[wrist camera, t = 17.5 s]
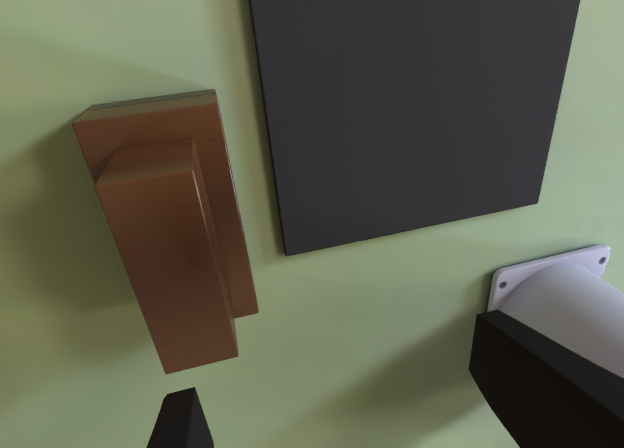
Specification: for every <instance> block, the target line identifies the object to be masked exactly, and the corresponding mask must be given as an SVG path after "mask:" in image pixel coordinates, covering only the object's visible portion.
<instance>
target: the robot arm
mask: <svg viewBox="0 0 624 448" xmlns="http://www.w3.org/2000/svg"><path fill="white" fill-rule="evenodd" d="M610 251H611V249H610V247H608V246H606V245H604V244H600V245H596V246H592V247H588V248H584V249H580V250H575V251H571V252H567V253H563V254H559V255H555V256H550V257H546V258H542V259H538V260H534V261H530V262H525V263H521V264H517V265H513V266H509V267H505V268H501V269H498V270H497V271H496V272H495V273H494V275H493V279H492V285H491V291H490V297H489V303H488V309H487V312H485V313H481V314H477V316H476V323H475V330H474V337H473V344H472V351H471V358H470V365H469V371H470V373H471V375H472V377H473V378H474V380H475V382H476V384H477V386H478V387H479V389H480V391H481V393H482V394H483V396H484V398H485V399H486V401H487V403H488V404H489V406H490V407H491V409H492V410H493V412H494V413H495V414H496V416H497V417H498V418H499V420H500V421H501V423H502V424H503V425H504V427H505V428H506V429H507V431H508V432H509V433H510V435H511V436H512V437H513V439H514V440H515V441H516V443H517V444H518V445H519V447H520V448H624V294H623V293H622V292H620V291H619V290H617V289H616V288H614V287H613V286H611V285H610V284H608V283H607V282H605V281H604V280H602V276H603V273H604V270H605V267H606V264H607V261H608V258H609V255H610ZM147 448H214V444H213V439H212V436H211V433H210V430H209V428H208V425H207V422H206V419H205V416H204V413H203V410H202V407H201V404H200V401H199V398H198V395H197V392H196V389H195V387H193V388H189V389H185V390H181V391H177V392H174V393H170V394H167V395H166V397H165V398H164V400H163V403H162V406H161V409H160V412H159V415H158V418H157V421H156V424H155V426H154V429H153V432H152V435H151V437H150V440H149V442H148V445H147Z"/></svg>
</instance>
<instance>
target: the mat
mask: <svg viewBox="0 0 624 448" xmlns="http://www.w3.org/2000/svg"><path fill="white" fill-rule="evenodd" d="M249 3H250V10H251V17H252V25H253V32H254V39H255V46H256V53H257V60H258V67H259V74H260V81H261V88H262V95H263V102H264V109H265V116H266V124H267V131H268V138H269V145H270V152H271V159H272V166H273V173H274V180H275V187H276V194H277V201H278V208H279V216H280V223H281V230H282V237H283V244H284V251H285V255H286V256H291V255H296V254H301V253H305V252H310V251H315V250H320V249H324V248H329V247H334V246H338V245H343V244H348V243H353V242H357V241H362V240H367V239H372V238H376V237H381V236H386V235H391V234H395V233H400V232H405V231H409V230H414V229H419V228H424V227H428V226H433V225H438V224H443V223H447V222H452V221H457V220H461V219H466V218H471V217H476V216H480V215H485V214H490V213H495V212H499V211H504V210H509V209H513V208H518V207H523V206H528V205H532V204H537V203H538V200H539V195H540V190H541V186H542V181H543V176H544V171H545V167H546V162H547V157H548V152H549V147H550V143H551V138H552V133H553V128H554V123H555V119H556V114H557V109H558V104H559V99H560V95H561V90H562V85H563V80H564V76H565V71H566V66H567V61H568V56H569V52H570V47H571V42H572V37H573V32H574V28H575V23H576V18H577V13H578V8H579V4H580V0H249Z"/></svg>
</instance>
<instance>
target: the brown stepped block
mask: <svg viewBox="0 0 624 448" xmlns="http://www.w3.org/2000/svg"><path fill="white" fill-rule="evenodd" d="M72 126H73V129H74V131H75V134H76V137H77V139H78V142H79V145H80V147H81V150H82V153H83V155H84V158H85V160H86V163H87V166H88V168H89V171H90V174H91V176H92V179H93V182H94V184H95V189H96V192H97V195H98V197H99V200H100V203H101V205H102V208H103V211H104V213H105V216H106V218H107V221H108V224H109V226H110V229H111V232H112V234H113V237H114V240H115V242H116V245H117V247H118V250H119V253H120V255H121V258H122V261H123V263H124V266H125V269H126V271H127V274H128V276H129V279H130V282H131V284H132V287H133V290H134V292H135V295H136V297H137V300H138V303H139V305H140V308H141V311H142V313H143V316H144V319H145V321H146V324H147V326H148V329H149V332H150V334H151V337H152V340H153V342H154V345H155V348H156V350H157V353H158V355H159V358H160V361H161V363H162V366H163V369H164V371H165V374H170V373H174V372H178V371H182V370H186V369H190V368H194V367H198V366H202V365H206V364H210V363H214V362H218V361H222V360H226V359H230V358H234V357H237V356H238V355H239V354H238V346H237V337H236V329H235V321H234V318H238V317H243V316H247V315H251V314H256V313H258V312H259V309H258V304H257V299H256V293H255V288H254V283H253V278H252V273H251V268H250V263H249V258H248V252H247V247H246V242H245V237H244V232H243V227H242V222H241V217H240V212H239V206H238V201H237V196H236V191H235V186H234V181H233V176H232V171H231V165H230V160H229V155H228V150H227V145H226V140H225V135H224V130H223V124H222V119H221V114H220V109H219V104H218V100H217V96H216V91H215V89H210V90H203V91H195V92H188V93H180V94H173V95H165V96H158V97H150V98H142V99H135V100H127V101H120V102H112V103H105V104H97V105H92V106H91V107H90V108H88V109H87V110H86V111H85V112H84V113H83V114H82V115H81V116H80V117H79V118H77V119H76V120H75V121H74V122H73V123H72Z"/></svg>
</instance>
